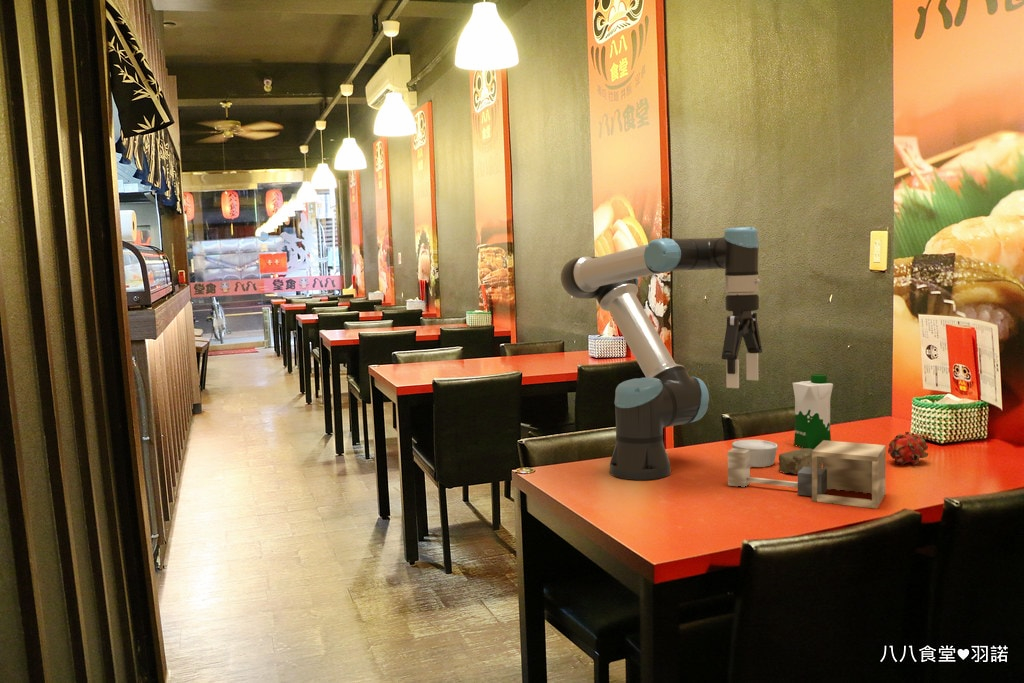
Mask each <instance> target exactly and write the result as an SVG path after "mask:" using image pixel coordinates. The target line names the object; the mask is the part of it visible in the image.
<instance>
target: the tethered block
mask: <svg viewBox="0 0 1024 683" xmlns="http://www.w3.org/2000/svg"><path fill="white" fill-rule="evenodd" d="M750 473H751V467H750V450H747V449H736V448H731V449H729V450H728V451H727V486H731V487H738V486H741V487H740V488H746V487H747V486H748V485H749V483H750V484H759V485H760V484H762V485H772V486H781V487H789V488H795V489H797V496H806V497H812V467H803V468H802V469H801V470H800V471H799V472H798V474H797V481H789V480H782V479H781V480H780V479H774V478H773V479H772V478H763V477H754V476H751V474H750ZM745 486H746V487H745ZM827 491H828V489H827V469H824V468H823V467H821V468H818V494H825V493H826V492H827ZM825 495H826V494H825Z"/></svg>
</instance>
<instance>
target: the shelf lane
mask: <svg viewBox="0 0 1024 683" xmlns="http://www.w3.org/2000/svg"><path fill="white" fill-rule="evenodd" d="M886 447H887V446H886V444H874V443H864V442H849V441H836V440H831V441H827V440H823V441H822V442H821V443H820V444H819V445H818V446H817V447H816V448H815V449H814V450H813V451H812V496H811V502H815V501H817V502H818V503H826V504H832V503H833V504H834V505H842V506H850V507H859V508H865V509H866V508H867V509H868V508H869V509H876V510H877V509H878V508H879V506H880V505H879V504H881V503H882V502H883V499H884V497H885V496H886V466H887V465H886V454H887V453H886V452H887V450H886V449H887V448H886ZM818 456H820V457H823V463H822V468H824V469H827V490H831V489H836V490H835V491H840V490H845V491H844V492H849V491H855V492H854V493H858V492H863V493H862V494H867V493H871V494H870V495H871V499H867V498H861V497H860V498H858V497H850V496H842V495H833V494H831V495H830V494H818ZM884 495H885V496H884ZM817 502H816V503H817Z"/></svg>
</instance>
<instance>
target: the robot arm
mask: <svg viewBox="0 0 1024 683" xmlns="http://www.w3.org/2000/svg"><path fill="white" fill-rule="evenodd" d="M759 247H760V244H759V236H758V230H757V228H755V227H753V226H741V227H739V226H738V227H737V226H736V227H729V228H726V229H725V230H724V236H723V237H707V238H706V237H705V238H703V237H701V238H699V237H698V238H693V237H692V238H668V237H663V238H662V237H661V238H658V239H657V238H655V239H653V240H651V241H649V242H648V244H645V245H639V246H636V247H633V248H627V249H625V250H621V251H616V252H613V253H609V254H605V255H601V256H579V257H574V258H572V259H570V260H569V261H567V262H566V263H565V264H564V266H563V267H562V269H561V273H560V281H561V286H562V287H563V290H564V291H565V292H566V293H567V294H569V295H570V296H571V297H574V298H576V299H586V300H587V299H596V301H597V303H598V305H599V308H601V310H603V311H606V312H609V314H610V316H611V317H612V319H613V321H614V322H615V325H616V326H617V327H618V330H619V331H620V333H621V335H622V336H623V339H624V341H625V342H626V344H627V346H628V348H629V349H630V351H631V353H632V355H633V357H634V358H635V361H636V363H637V364H638V365H639V366H638V367H639V368H640V369H641V371H642V373H643V374H644V376H645V377H640V378H638V377H637V378H632V379H628V380H627V379H626V380H624V381H622V382H621V383H619V384H617V386H616V388H615V394H614V395H615V396H614V410H615V412H614V413H615V415H614V416H615V445H614V449H613V452H612V456H611V459H610V462H609V473H610V475H612V476H613V477H616V478H620V479H624V480H625V479H626V480H636V481H639V480H641V481H647V480H648V481H649V480H650V481H651V480H658V479H662V478H665V477H668V476H669V475H670V474H671V462H670V459H669V457H668V453H667V451H666V447H665V444H664V439H663V438H664V436H663V435H664V433H663V432H664V431H663V430H664V428H669V427H675V426H679V425H681V426H682V425H688V424H691V423H695V422H697V421H700V420H701V419H702V418H703V417H704V416H705V414H706V413H707V410H708V408H709V402H710V395H709V390H708V387H707V385H706V383H705V381H704V380H702V379H701V378H698V377H696V376H690V374H689V372H688V371H687V369H686V367H685V366H684V365H682V364H678V363H676V362H675V360H674V358H673V357H672V355H671V354H670V351H669V350H668V348H667V346H666V345H665V343H664V341H663V339H662V338H661V336H660V334H659V333H658V331H657V329H656V328H655V325H654V324H653V322H652V320H651V319H650V317H649V315H648V314H647V312H646V310H645V308H644V307H643V305H642V303H641V301H640V300H639V298H638V296H637V294H638V292H639V287H638V286H639V280H640V279H639V278H643V277H648V276H649V277H650V276H653V275H657V274H658V275H659V274H660V275H661V274H663V273H668V272H676V271H705V270H720V269H721V270H724V290H725V291H724V292H725V293H727V294H726V295H725V297H724V298H725V310H726V311H727V312H732V315H728V316H726V328H725V334H724V339H723V340H724V341H723V345H722V346H723V348H722V352H721V360H725V364H726V365H725V368H726V369H725V370H726V371H725V373H726V374H725V375H726V376H725V377H726V379H725V380H726V383H725V384H726V385H725V386H726V388H728V389H739V388H740V365H739V364H740V361H739V359H738V355H739V352H740V349H741V344H742V340H743V341H744V345H745V347H746V351H747V353H745V361H746V364H745V365H746V366H745V367H746V375H745V376H746V381H759V354H762V353H763V348H762V341H761V337H760V336H761V335H760V332H759V331H760V330H759V325H758V315H757V312H753V311H758V310H759V306H760V302H759V300H760V298H759V294H757V293H758V292H759V284H760V283H761V279H760V278H759V251H760V250H759Z"/></svg>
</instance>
